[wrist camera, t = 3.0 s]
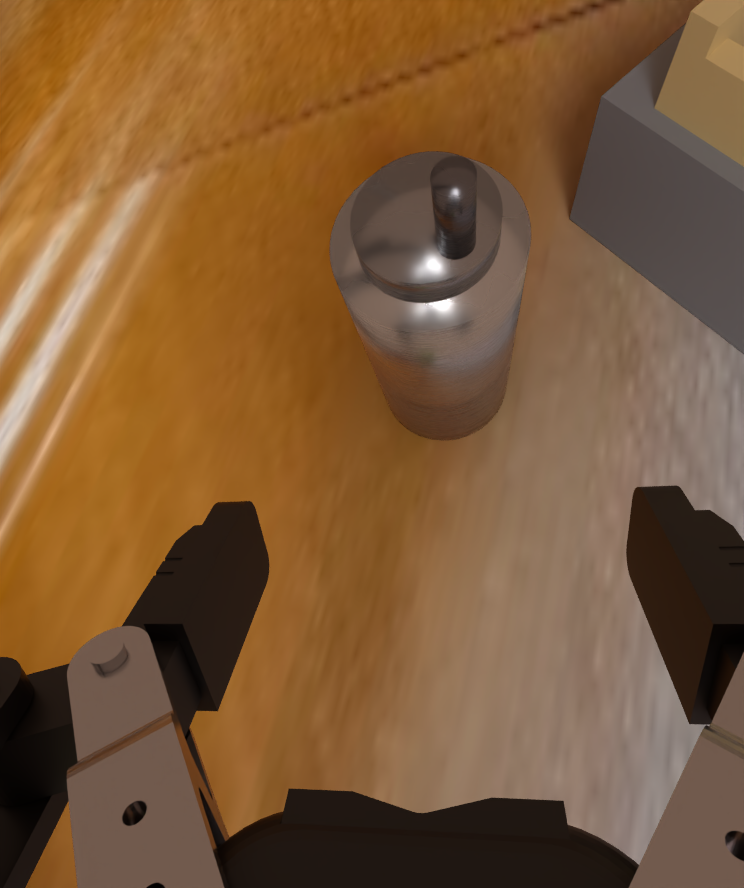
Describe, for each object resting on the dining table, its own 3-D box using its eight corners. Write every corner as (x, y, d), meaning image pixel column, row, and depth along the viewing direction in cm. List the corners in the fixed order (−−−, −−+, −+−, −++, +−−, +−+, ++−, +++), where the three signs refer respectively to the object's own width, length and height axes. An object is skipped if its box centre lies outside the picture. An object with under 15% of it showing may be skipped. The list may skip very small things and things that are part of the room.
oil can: (361, 381, 27) (247, 156, 13) (448, 305, 27) (425, 7, 13) (440, 465, 25) (405, 307, 12) (532, 383, 25) (605, 132, 12)
